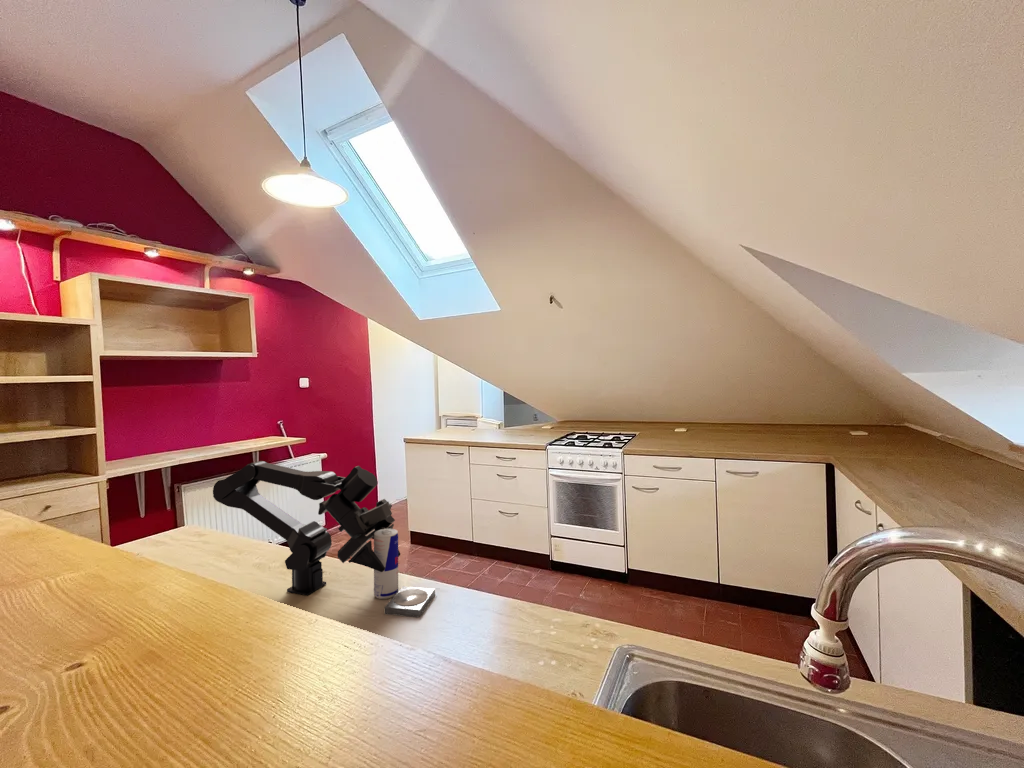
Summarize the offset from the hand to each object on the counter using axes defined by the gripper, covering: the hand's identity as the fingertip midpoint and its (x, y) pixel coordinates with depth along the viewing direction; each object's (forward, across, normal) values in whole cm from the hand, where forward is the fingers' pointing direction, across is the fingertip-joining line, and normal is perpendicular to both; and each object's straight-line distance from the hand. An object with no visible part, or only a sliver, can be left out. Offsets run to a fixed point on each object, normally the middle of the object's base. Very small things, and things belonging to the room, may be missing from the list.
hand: (391, 563), depth 104 cm
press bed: (+10, -3, +1) cm, 10 cm away
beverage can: (+4, 0, +6) cm, 8 cm away
